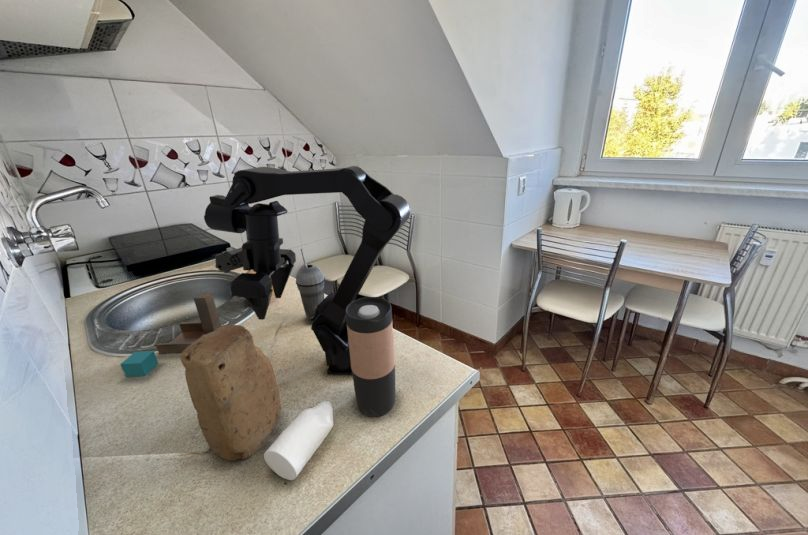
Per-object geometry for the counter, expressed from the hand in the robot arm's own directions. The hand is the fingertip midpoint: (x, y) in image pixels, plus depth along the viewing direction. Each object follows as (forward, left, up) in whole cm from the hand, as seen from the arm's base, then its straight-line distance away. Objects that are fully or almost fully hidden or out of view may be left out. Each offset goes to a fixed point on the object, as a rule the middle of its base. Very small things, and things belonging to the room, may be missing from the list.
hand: (270, 307), depth 67 cm
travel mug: (-23, +12, -13) cm, 29 cm away
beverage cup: (-3, -16, -13) cm, 21 cm away
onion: (+17, -26, -13) cm, 33 cm away
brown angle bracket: (+22, -4, -13) cm, 26 cm away
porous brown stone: (-3, +20, -13) cm, 24 cm away
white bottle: (-14, +21, -13) cm, 28 cm away
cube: (+25, +6, -11) cm, 28 cm away
